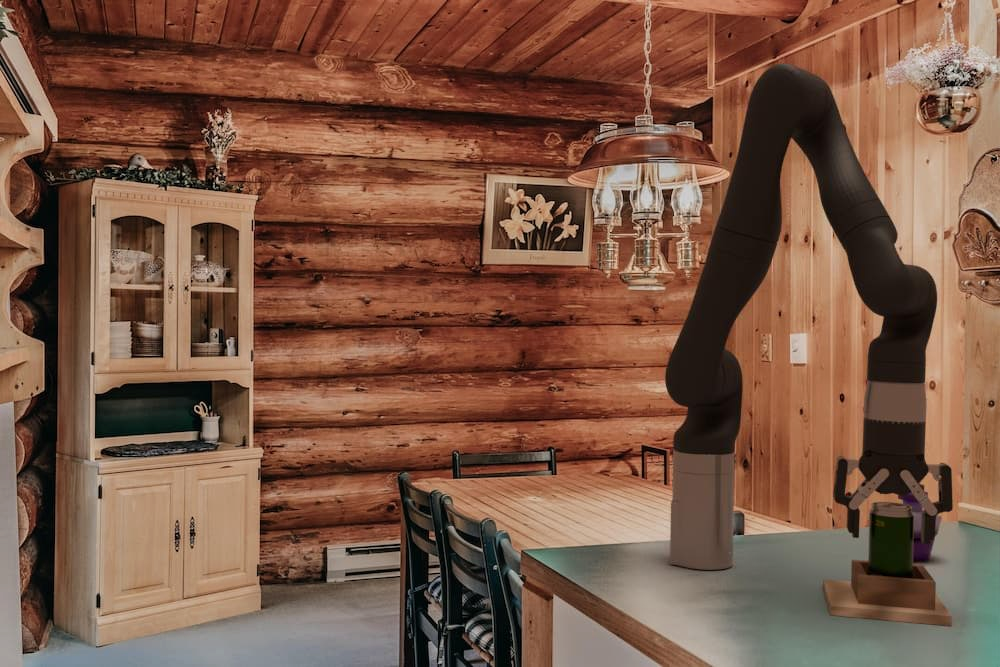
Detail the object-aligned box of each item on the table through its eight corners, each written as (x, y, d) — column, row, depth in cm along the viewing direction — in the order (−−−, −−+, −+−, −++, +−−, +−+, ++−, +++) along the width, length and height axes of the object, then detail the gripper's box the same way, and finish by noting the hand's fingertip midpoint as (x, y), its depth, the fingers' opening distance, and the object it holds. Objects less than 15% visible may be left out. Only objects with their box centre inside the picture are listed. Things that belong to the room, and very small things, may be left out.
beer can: (896, 605, 118) (897, 510, 118) (859, 594, 123) (860, 503, 123) (921, 599, 121) (922, 507, 121) (884, 588, 126) (885, 500, 125)
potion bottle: (870, 555, 149) (872, 480, 149) (904, 549, 154) (906, 477, 154) (918, 567, 142) (920, 489, 142) (953, 561, 146) (954, 485, 146)
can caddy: (830, 615, 118) (831, 578, 118) (822, 587, 130) (823, 554, 130) (951, 625, 114) (952, 587, 114) (931, 596, 126) (932, 562, 126)
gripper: (839, 416, 120) (834, 541, 120) (960, 422, 116) (955, 551, 116) (834, 410, 127) (830, 529, 127) (948, 416, 123) (943, 538, 124)
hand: (890, 539), depth 122 cm, fingers open, 8 cm apart
